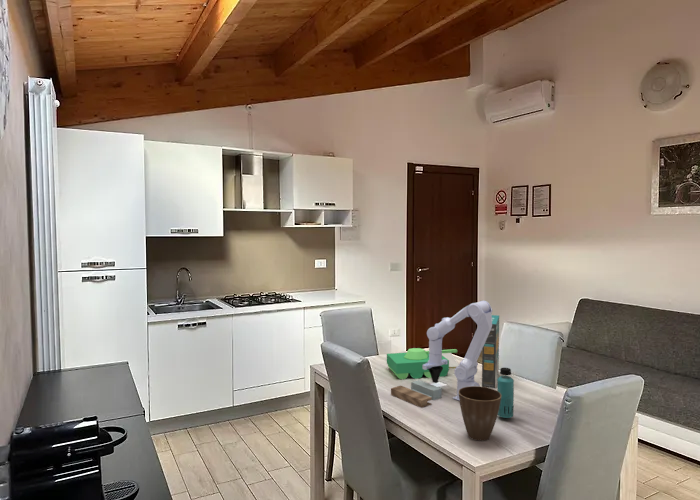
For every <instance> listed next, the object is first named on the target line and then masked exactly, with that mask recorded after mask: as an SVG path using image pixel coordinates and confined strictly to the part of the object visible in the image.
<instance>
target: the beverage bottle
mask: <svg viewBox="0 0 700 500" xmlns="http://www.w3.org/2000/svg"><path fill="white" fill-rule="evenodd" d="M499 370H500V372H499V374H500V376H498V379H497V383H496V386H497V387H496V388H497V390H496V391H498V392H500V394H501V401H500V407H499V411H498V415H497V417H500V418H504V419H505V418H506V419H510V418H513V417H514V409H515V408H514V406H515V404H514V400H515V399H514V397H515V396H514V395H515V394H514V393H515V387H514V386H515V384H514V382H515V380H514V379H513V378H512V377H511V376H510V375H512V369H511V368H510V367H501V368H500V369H499Z"/></svg>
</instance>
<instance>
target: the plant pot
mask: <svg viewBox="0 0 700 500" xmlns="http://www.w3.org/2000/svg"><path fill="white" fill-rule="evenodd" d="M459 400H460V401H459ZM459 400H458V401H459V406H460V411H461V417H462V420H463V423H464V426H465V430H466V433H467V435H468V437H469V438H470V439H472V440H474V441H481V442H482V441H488V440H489V439H490V438H491V435H492V433H493V431H494V428H495V425H496V422H497V418H498V411H499V407H500V401H501V394H500V392H498V391H497V390H496V389H495V388H488V387H482V386H480V387H479V386H470V387H464V388H461V389H460V390H459Z"/></svg>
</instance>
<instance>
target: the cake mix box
mask: <svg viewBox="0 0 700 500" xmlns="http://www.w3.org/2000/svg"><path fill="white" fill-rule="evenodd" d="M491 315H492V328H491V330H490V332H489V335H488V337H487V339H486V342H485V344H484V346H483V348H482V351H481V355H482V356H481V359H482V360H481V387H487V388H491V389H496V388H497V387H496V386H497V379H498V378H499V373H500V372H499V370H500V369H499V367H500V366H499V362H500V361H499V360H500V355H499V354H500V353H499V352H500V315H497V314H496V315H494V314H491Z"/></svg>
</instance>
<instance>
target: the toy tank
mask: <svg viewBox="0 0 700 500" xmlns="http://www.w3.org/2000/svg"><path fill="white" fill-rule="evenodd" d="M442 353H451V354H453V353H454V354H457V353H458V349H456V348H454V349H453V348H452V349H451V348H450V350H449V349H442ZM443 359H446V358H445V357H444V356H442V360H443ZM446 360H448V359H446ZM428 361H429V350H425V349H424V348H420V347H417V348H416V347H413V348H408V350H407V352H395V353H394V352H392V353H386V365H387V367H388V369H390V370H391V372H392V373H394V375H395V376H396V377H397V378H398V379H399V380H406V379H407V378H408V376H409V375H410V377H411V378H413V379H414V380H415V379H416V380H417V379H418V380H420V379H421V378H422V377H423V375H424V376H425V377H426V378H427V379H428V378H431V379H432V377H431V374H430V372H429V370H428V369H427V370H424V369H423V365H424V364H426V363H427V362H428ZM441 367H443V370H442V371H441V373H440V376H439V378H441V377H446V376H447V375H448V373H449V370H450V368H449V360H448V364H444V365H441Z"/></svg>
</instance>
